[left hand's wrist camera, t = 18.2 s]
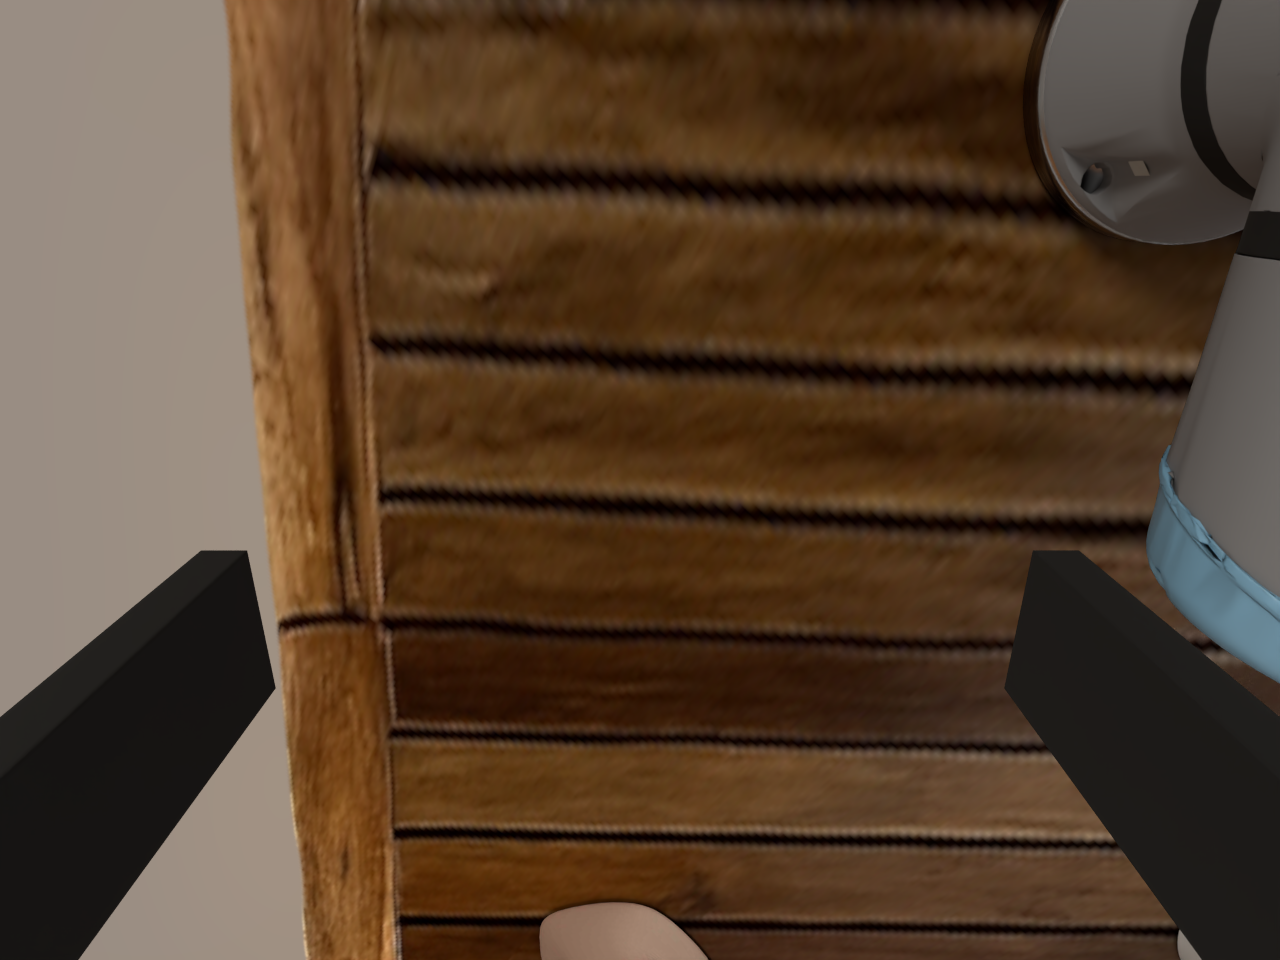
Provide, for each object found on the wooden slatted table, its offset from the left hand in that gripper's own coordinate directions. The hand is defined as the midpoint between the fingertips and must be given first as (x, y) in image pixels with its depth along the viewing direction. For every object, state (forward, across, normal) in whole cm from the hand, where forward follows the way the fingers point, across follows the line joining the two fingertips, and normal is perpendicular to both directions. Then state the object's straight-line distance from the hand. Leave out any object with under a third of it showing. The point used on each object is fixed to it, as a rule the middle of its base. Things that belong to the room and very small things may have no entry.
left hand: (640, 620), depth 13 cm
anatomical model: (+29, -1, -47) cm, 55 cm away
